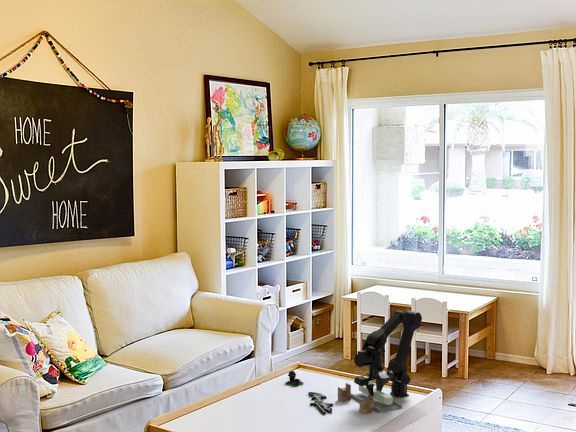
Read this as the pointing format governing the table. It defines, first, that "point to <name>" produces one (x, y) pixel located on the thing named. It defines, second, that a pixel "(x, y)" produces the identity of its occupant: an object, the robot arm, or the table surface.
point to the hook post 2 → (366, 405)
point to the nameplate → (320, 402)
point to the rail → (377, 395)
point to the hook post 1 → (344, 393)
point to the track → (377, 403)
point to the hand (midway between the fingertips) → (375, 397)
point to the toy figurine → (293, 380)
